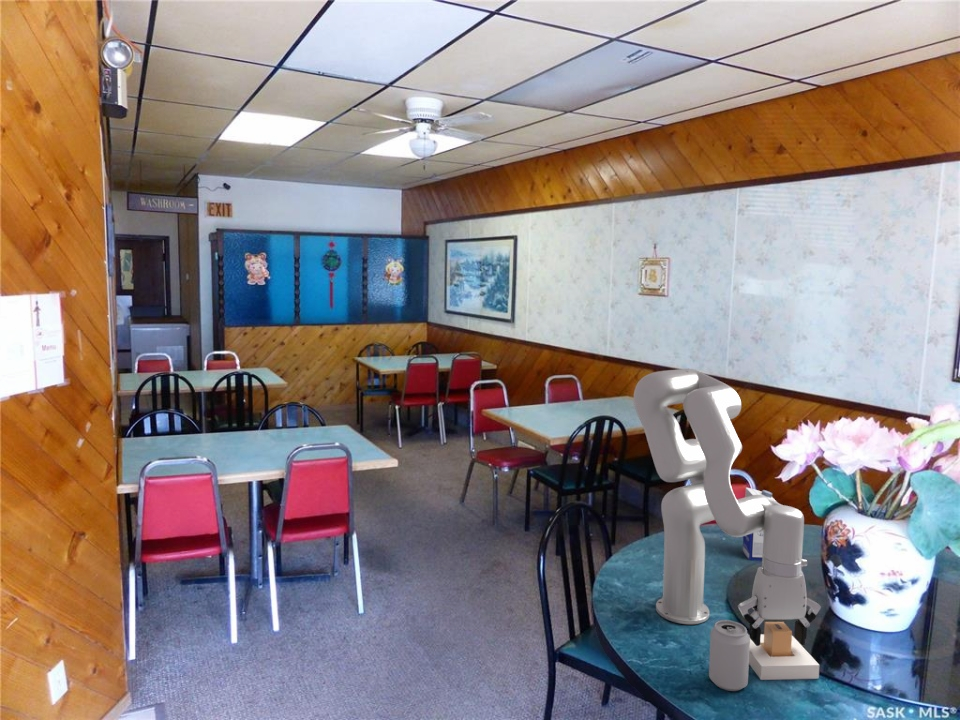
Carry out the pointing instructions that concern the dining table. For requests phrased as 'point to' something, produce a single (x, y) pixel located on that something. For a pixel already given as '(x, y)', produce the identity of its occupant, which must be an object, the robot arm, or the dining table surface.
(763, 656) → the outlet plate
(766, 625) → the charger
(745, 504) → the robot arm
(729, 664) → the can
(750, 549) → the milk carton
